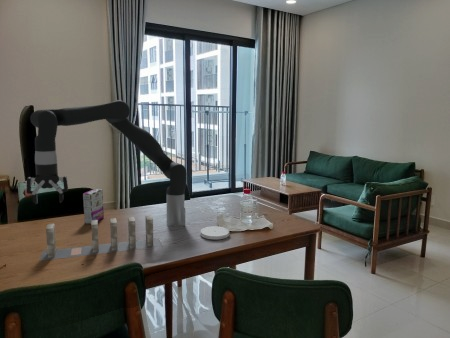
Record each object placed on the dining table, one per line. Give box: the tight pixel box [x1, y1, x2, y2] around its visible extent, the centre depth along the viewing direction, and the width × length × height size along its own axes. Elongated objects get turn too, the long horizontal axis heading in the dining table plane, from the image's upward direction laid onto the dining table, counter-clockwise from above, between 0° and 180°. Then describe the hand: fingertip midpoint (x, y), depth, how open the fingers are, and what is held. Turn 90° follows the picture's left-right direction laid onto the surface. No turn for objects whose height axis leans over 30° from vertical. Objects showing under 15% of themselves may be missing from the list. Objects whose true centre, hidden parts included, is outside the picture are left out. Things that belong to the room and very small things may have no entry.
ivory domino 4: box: [144, 214, 154, 246], centre depth 149 cm, size 2×6×12 cm, turn 21°
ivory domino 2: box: [109, 217, 118, 250], centre depth 144 cm, size 2×6×12 cm, turn 21°
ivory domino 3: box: [127, 216, 137, 248], centre depth 147 cm, size 2×6×12 cm, turn 21°
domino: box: [45, 223, 57, 258], centre depth 135 cm, size 2×6×12 cm, turn 21°
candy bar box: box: [82, 188, 105, 225], centre depth 180 cm, size 11×5×16 cm, turn 168°
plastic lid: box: [200, 225, 230, 240], centre depth 165 cm, size 14×14×2 cm
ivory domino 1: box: [90, 220, 100, 252], centre depth 141 cm, size 2×6×12 cm, turn 21°
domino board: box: [39, 237, 164, 262], centre depth 144 cm, size 48×10×1 cm, turn 111°
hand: (48, 202), depth 133 cm, fingers open, 8 cm apart
